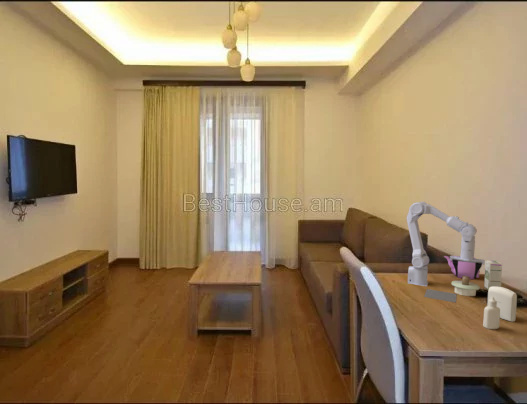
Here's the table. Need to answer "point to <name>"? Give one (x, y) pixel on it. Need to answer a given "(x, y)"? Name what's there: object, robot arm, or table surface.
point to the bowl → (465, 292)
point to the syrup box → (492, 274)
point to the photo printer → (504, 302)
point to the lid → (465, 284)
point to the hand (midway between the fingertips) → (465, 276)
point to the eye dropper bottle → (491, 315)
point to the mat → (440, 295)
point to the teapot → (463, 268)
